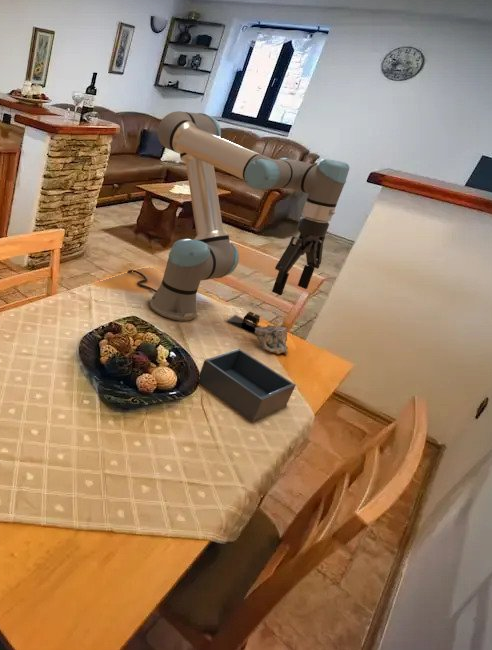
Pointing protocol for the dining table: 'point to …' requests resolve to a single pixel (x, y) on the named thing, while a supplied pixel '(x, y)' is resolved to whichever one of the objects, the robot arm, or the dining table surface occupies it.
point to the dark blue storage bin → (246, 384)
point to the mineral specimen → (273, 338)
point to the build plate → (246, 322)
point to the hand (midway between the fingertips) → (289, 290)
